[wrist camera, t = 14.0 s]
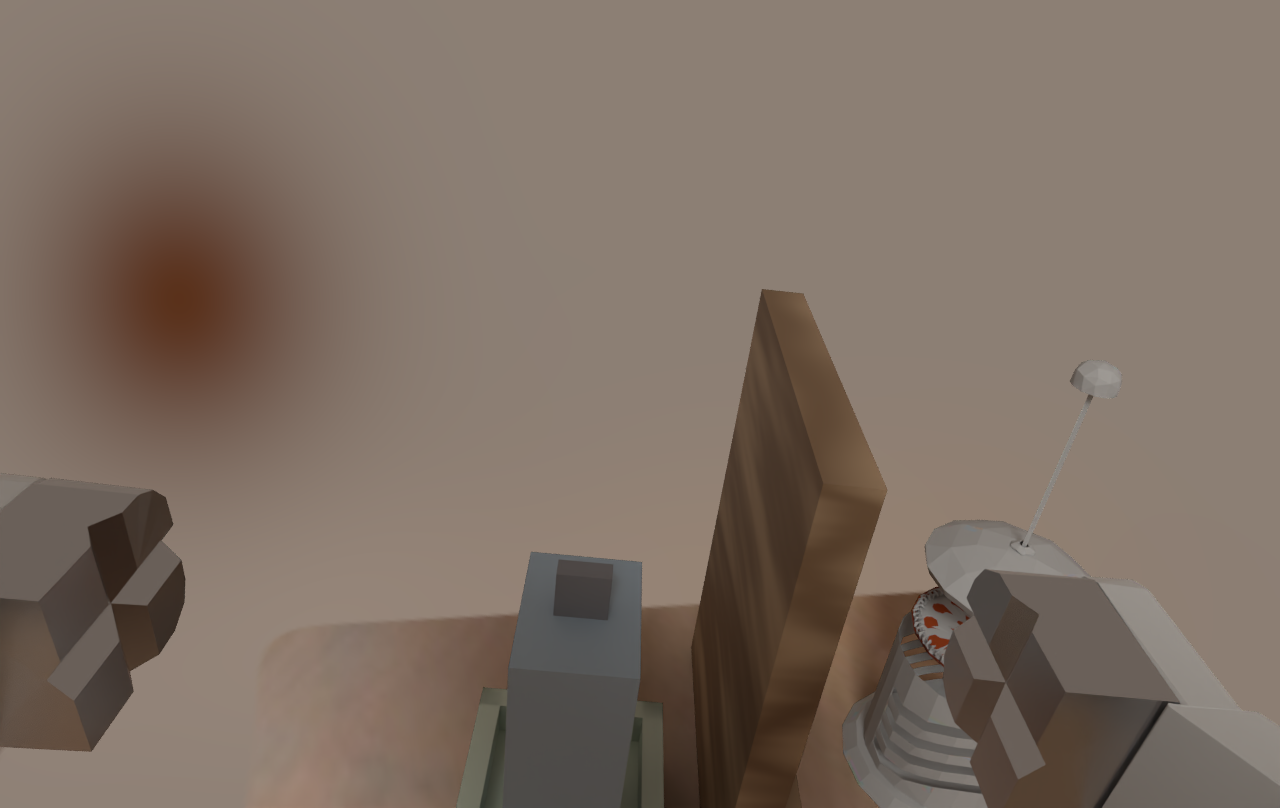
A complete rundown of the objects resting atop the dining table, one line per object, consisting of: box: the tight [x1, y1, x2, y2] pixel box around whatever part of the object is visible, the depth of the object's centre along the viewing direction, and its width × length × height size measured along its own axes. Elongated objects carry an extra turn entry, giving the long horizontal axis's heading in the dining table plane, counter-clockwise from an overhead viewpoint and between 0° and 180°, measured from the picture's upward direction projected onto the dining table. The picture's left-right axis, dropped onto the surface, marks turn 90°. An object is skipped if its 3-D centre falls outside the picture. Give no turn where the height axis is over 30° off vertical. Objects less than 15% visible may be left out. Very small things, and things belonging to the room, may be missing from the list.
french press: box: [843, 360, 1122, 808], centre depth 39 cm, size 10×12×25 cm
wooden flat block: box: [691, 289, 887, 808], centre depth 38 cm, size 5×16×24 cm, turn 179°
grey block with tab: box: [503, 552, 642, 808], centre depth 33 cm, size 4×6×15 cm
